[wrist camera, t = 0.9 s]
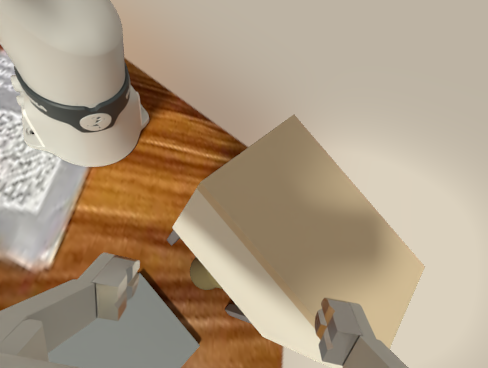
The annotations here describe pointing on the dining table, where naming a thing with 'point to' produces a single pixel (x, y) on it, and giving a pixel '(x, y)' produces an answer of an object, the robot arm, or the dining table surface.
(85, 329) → the mat
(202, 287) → the olive pear shape
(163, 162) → the dining table surface
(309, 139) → the cabinet
